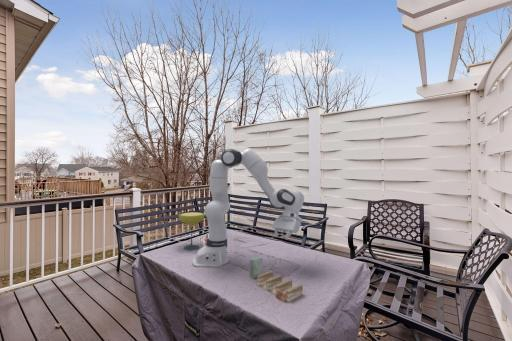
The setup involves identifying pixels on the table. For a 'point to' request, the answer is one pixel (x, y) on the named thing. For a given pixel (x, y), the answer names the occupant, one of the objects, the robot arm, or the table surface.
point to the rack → (279, 286)
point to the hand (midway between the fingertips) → (280, 237)
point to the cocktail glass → (191, 223)
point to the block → (255, 267)
